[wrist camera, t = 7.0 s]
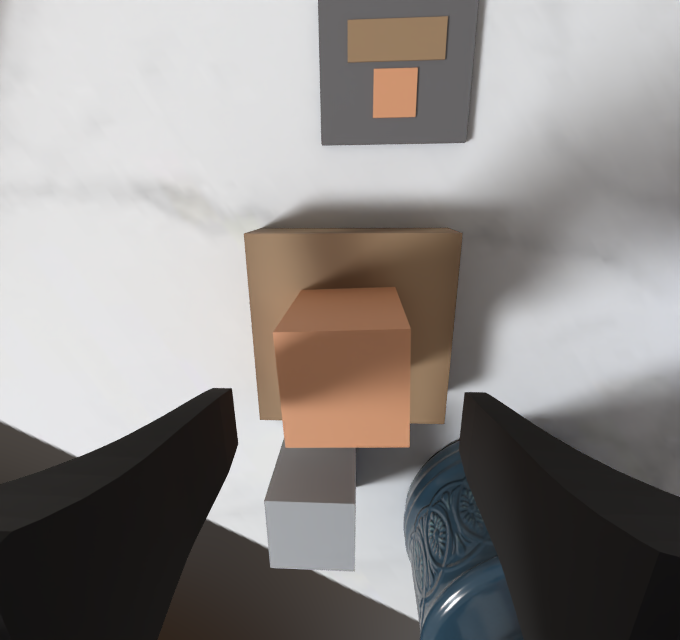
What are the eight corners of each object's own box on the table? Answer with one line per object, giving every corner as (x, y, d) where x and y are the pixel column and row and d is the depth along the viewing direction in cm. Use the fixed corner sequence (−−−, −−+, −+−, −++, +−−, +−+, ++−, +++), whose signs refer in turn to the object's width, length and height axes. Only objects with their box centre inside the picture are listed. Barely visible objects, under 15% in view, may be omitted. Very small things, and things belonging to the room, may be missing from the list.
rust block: (395, 286, 18) (411, 329, 12) (395, 372, 19) (409, 447, 13) (301, 290, 18) (272, 332, 12) (308, 374, 19) (285, 447, 14)
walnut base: (445, 227, 20) (462, 233, 17) (432, 391, 23) (444, 424, 20) (262, 227, 20) (243, 233, 17) (274, 388, 24) (259, 419, 20)
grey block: (356, 430, 24) (354, 504, 18) (355, 486, 25) (354, 571, 19) (286, 428, 24) (264, 500, 18) (290, 484, 25) (270, 567, 20)
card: (476, -7, 16) (480, -14, 16) (463, 142, 18) (466, 141, 18) (318, -1, 17) (317, -7, 16) (322, 145, 18) (321, 144, 18)
